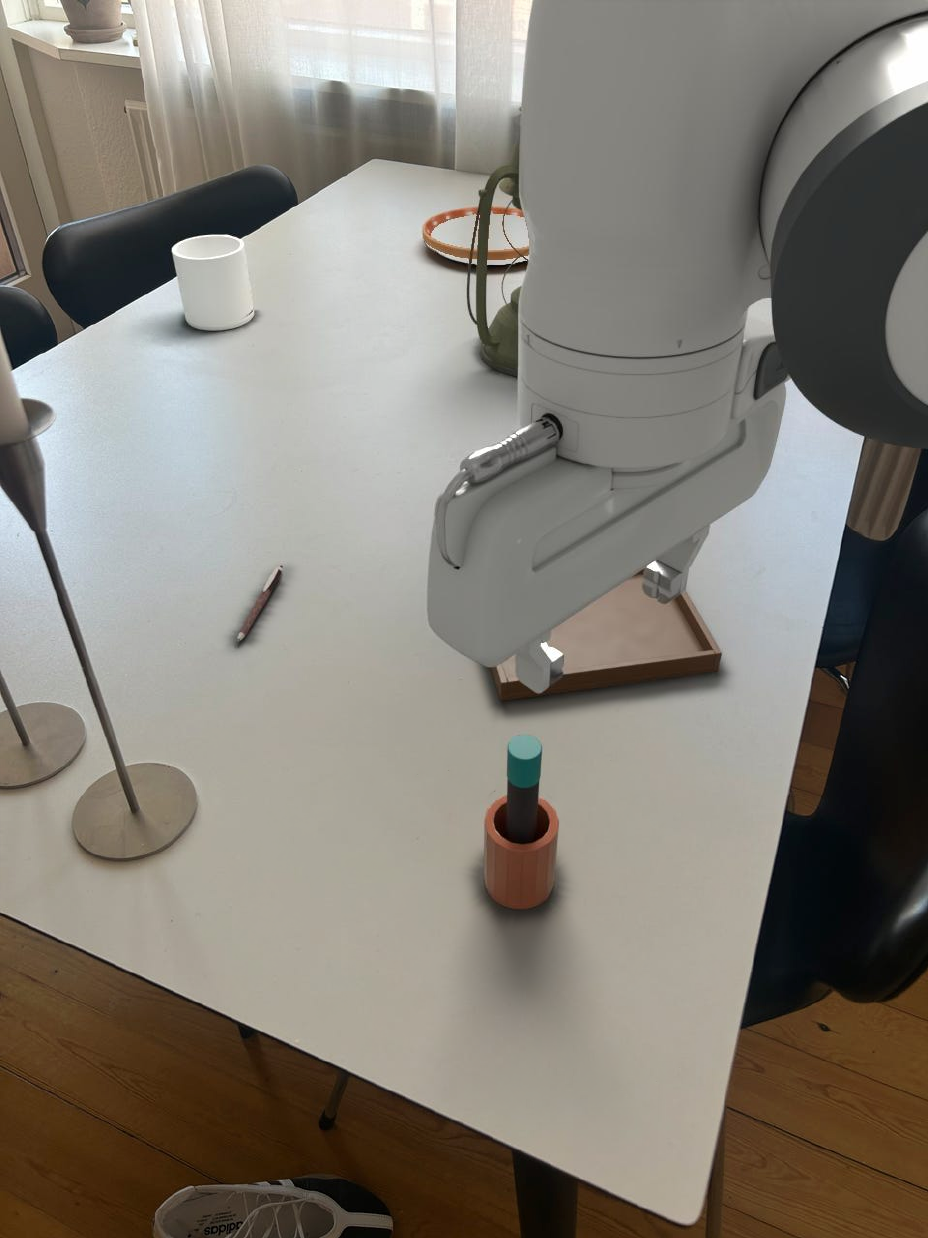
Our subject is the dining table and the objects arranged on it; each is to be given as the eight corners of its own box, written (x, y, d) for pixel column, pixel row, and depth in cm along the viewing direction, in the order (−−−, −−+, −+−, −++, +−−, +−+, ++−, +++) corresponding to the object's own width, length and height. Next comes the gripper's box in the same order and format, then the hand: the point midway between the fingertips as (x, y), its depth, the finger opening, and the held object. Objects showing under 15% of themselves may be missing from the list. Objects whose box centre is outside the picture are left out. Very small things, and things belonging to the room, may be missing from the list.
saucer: (511, 218, 176) (512, 197, 173) (584, 256, 160) (586, 233, 158) (399, 240, 167) (398, 218, 165) (465, 283, 152) (465, 259, 149)
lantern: (508, 393, 123) (513, 137, 104) (444, 342, 135) (438, 104, 116) (639, 358, 130) (666, 113, 111) (568, 313, 142) (581, 85, 123)
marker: (530, 860, 68) (537, 732, 59) (537, 885, 66) (545, 757, 58) (501, 864, 67) (504, 736, 59) (507, 889, 66) (511, 762, 57)
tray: (659, 567, 95) (662, 549, 93) (718, 671, 83) (722, 653, 82) (467, 590, 92) (467, 573, 91) (500, 701, 81) (500, 683, 79)
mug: (239, 333, 138) (227, 261, 131) (174, 328, 140) (159, 256, 133) (270, 299, 147) (261, 231, 141) (209, 295, 149) (197, 227, 143)
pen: (278, 569, 95) (277, 560, 94) (286, 570, 95) (284, 561, 94) (234, 643, 86) (232, 635, 86) (242, 644, 86) (240, 636, 86)
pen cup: (544, 846, 69) (548, 787, 65) (561, 903, 66) (566, 845, 61) (478, 857, 69) (478, 798, 64) (492, 915, 65) (493, 856, 61)
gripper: (497, 508, 32) (500, 780, 41) (826, 327, 43) (772, 575, 52) (379, 443, 36) (405, 706, 45) (709, 291, 47) (677, 528, 55)
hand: (604, 635), depth 48 cm, fingers open, 8 cm apart
